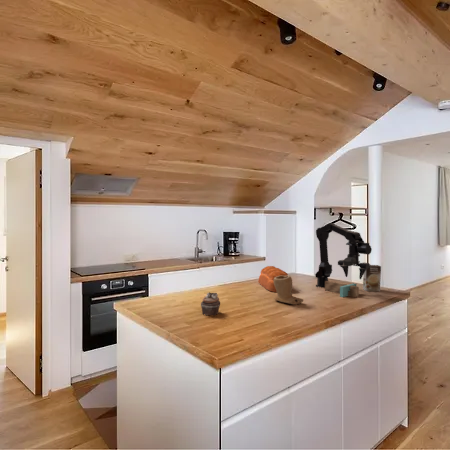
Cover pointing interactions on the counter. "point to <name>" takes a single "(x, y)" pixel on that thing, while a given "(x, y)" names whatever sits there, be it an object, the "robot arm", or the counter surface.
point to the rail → (336, 288)
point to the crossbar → (345, 290)
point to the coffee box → (372, 278)
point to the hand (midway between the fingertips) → (353, 278)
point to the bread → (270, 277)
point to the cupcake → (210, 304)
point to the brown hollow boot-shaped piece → (285, 290)
